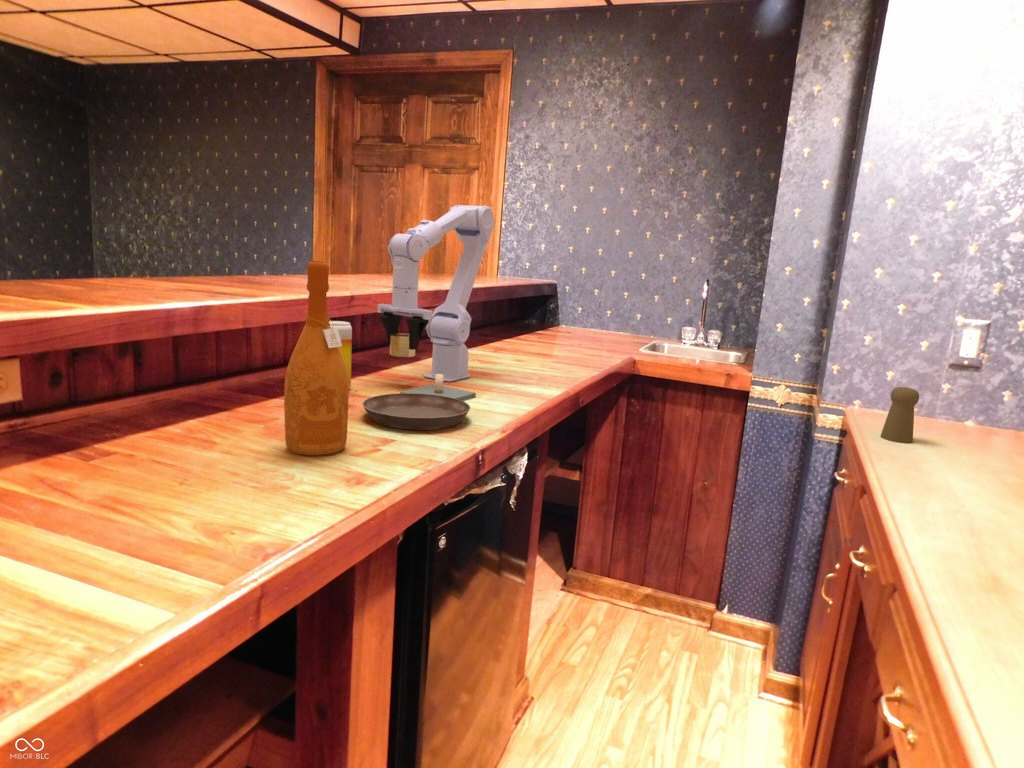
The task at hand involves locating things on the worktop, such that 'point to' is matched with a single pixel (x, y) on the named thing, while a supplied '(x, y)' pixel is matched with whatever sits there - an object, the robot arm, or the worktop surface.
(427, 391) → the post plate
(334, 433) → the wine bottle
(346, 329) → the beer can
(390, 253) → the robot arm
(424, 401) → the plant saucer
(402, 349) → the collar
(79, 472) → the worktop surface
